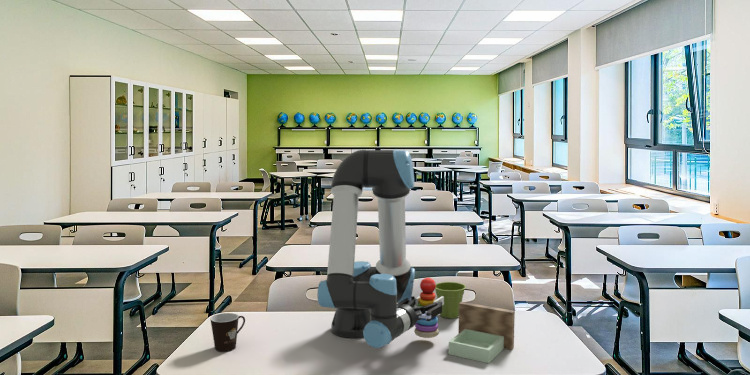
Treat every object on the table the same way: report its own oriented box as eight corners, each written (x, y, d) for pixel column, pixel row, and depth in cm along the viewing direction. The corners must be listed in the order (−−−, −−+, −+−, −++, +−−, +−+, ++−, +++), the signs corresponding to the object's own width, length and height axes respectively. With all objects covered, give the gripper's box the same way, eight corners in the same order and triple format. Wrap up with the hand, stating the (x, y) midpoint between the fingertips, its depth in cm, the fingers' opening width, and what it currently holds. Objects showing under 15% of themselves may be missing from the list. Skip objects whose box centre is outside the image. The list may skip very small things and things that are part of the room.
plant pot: (447, 308, 219) (447, 279, 218) (472, 316, 210) (472, 286, 209) (426, 315, 211) (426, 285, 210) (451, 323, 202) (451, 292, 201)
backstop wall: (458, 338, 188) (458, 303, 186) (460, 336, 189) (461, 301, 188) (511, 349, 178) (512, 312, 177) (513, 347, 180) (514, 310, 179)
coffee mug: (214, 355, 174) (213, 323, 173) (208, 345, 182) (207, 315, 181) (252, 348, 179) (251, 317, 178) (244, 339, 187) (244, 310, 186)
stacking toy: (432, 340, 180) (432, 282, 178) (410, 335, 184) (410, 279, 182) (443, 332, 186) (443, 277, 184) (421, 328, 191) (421, 273, 189)
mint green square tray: (448, 354, 175) (448, 341, 174) (464, 340, 186) (465, 328, 185) (489, 363, 168) (489, 350, 168) (503, 348, 179) (503, 336, 179)
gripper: (373, 326, 174) (409, 305, 194) (428, 338, 164) (460, 314, 184) (373, 302, 173) (409, 283, 193) (428, 313, 163) (460, 292, 183)
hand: (433, 298), depth 188 cm, fingers closed on stacking toy, 6 cm apart
